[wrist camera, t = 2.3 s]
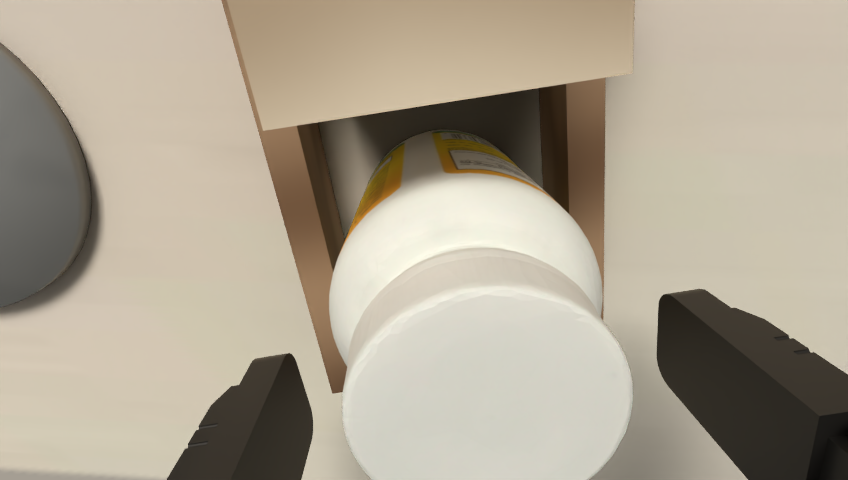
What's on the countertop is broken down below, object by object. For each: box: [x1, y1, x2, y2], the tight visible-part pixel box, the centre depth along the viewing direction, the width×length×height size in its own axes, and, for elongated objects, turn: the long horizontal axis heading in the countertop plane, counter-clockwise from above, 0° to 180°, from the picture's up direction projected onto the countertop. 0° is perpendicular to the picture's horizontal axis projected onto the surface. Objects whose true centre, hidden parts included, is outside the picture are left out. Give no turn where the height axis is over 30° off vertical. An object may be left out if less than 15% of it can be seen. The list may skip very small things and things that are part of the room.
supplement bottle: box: [329, 130, 633, 480], centre depth 10 cm, size 5×5×10 cm
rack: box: [222, 0, 635, 393], centre depth 10 cm, size 14×9×8 cm, turn 8°
